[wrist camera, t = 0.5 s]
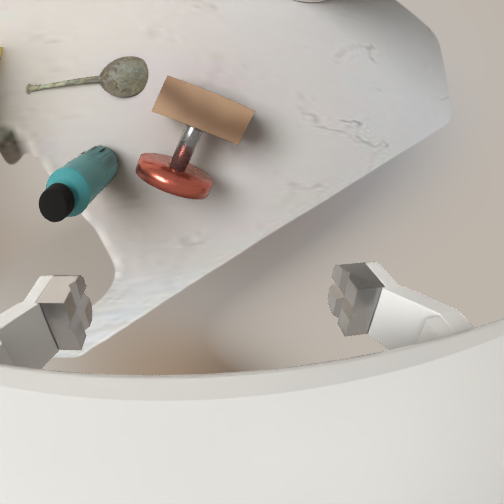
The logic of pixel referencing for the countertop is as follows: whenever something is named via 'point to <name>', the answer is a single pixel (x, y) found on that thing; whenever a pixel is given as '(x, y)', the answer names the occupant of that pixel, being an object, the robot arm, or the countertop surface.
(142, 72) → the soupspoon
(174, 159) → the copper wheel on rod
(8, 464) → the robot arm
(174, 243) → the countertop surface
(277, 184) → the countertop surface
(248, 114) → the eye block
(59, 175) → the beverage bottle
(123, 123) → the countertop surface
